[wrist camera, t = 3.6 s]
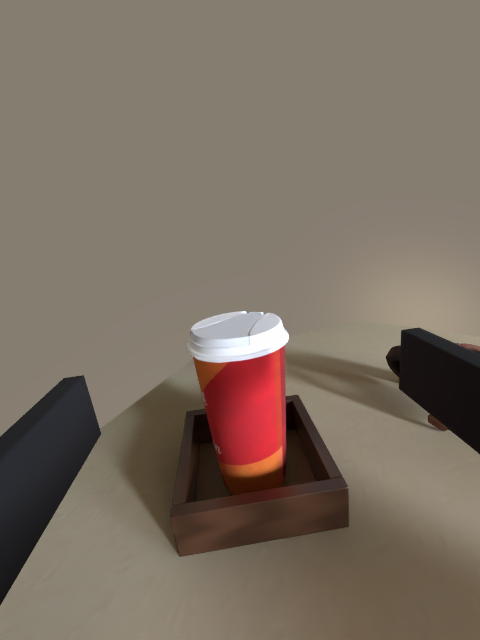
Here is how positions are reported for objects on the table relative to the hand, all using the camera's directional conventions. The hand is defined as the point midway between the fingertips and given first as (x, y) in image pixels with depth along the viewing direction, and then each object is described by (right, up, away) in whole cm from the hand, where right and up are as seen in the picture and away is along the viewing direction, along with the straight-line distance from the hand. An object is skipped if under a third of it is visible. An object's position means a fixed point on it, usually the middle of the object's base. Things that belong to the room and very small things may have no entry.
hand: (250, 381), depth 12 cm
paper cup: (+1, -11, +13) cm, 18 cm away
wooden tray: (+1, -11, +13) cm, 17 cm away
